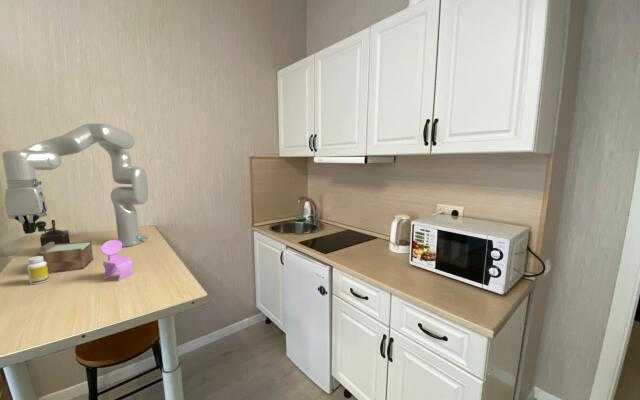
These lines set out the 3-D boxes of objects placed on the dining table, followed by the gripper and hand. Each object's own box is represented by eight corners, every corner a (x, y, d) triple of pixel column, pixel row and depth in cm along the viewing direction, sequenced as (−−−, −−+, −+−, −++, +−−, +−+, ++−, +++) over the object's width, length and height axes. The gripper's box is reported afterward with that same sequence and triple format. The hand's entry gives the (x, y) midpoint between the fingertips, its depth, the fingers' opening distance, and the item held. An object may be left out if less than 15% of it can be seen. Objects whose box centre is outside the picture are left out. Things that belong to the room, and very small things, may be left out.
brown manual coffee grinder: (42, 251, 140) (36, 216, 137) (71, 246, 147) (66, 213, 144) (39, 260, 128) (33, 222, 125) (71, 254, 136) (66, 219, 133)
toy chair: (116, 282, 107) (111, 245, 104) (100, 279, 110) (95, 243, 107) (136, 273, 115) (132, 239, 112) (120, 271, 117) (116, 237, 115)
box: (93, 259, 130) (90, 241, 128) (83, 269, 119) (80, 249, 117) (55, 263, 124) (52, 244, 123) (40, 274, 114) (37, 253, 112)
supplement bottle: (52, 279, 109) (48, 256, 107) (35, 285, 104) (30, 261, 102) (44, 277, 111) (40, 254, 109) (26, 283, 106) (22, 259, 104)
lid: (90, 243, 127) (89, 238, 127) (82, 250, 119) (81, 244, 118) (50, 247, 122) (49, 241, 121) (39, 254, 114) (38, 248, 113)
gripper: (53, 183, 108) (60, 228, 111) (2, 184, 102) (10, 232, 105) (43, 185, 101) (50, 233, 104) (-13, 186, 95) (-4, 237, 98)
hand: (30, 232), depth 104 cm, fingers closed
